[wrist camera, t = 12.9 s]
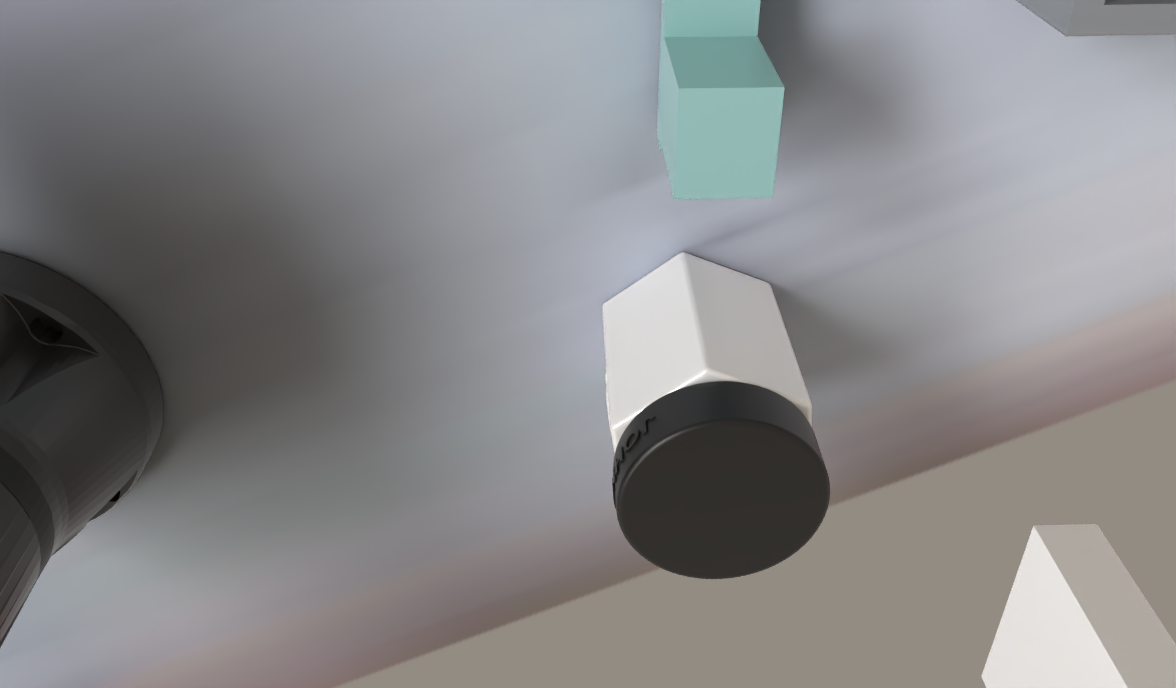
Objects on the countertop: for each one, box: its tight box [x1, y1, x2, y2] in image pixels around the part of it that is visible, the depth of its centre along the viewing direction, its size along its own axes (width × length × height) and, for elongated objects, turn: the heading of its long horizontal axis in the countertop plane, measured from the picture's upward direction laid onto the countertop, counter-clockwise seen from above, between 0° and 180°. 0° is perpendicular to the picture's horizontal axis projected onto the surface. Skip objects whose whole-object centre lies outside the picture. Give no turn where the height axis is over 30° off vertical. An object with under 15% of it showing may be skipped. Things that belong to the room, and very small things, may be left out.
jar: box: [602, 252, 830, 579], centre depth 43 cm, size 9×8×12 cm
